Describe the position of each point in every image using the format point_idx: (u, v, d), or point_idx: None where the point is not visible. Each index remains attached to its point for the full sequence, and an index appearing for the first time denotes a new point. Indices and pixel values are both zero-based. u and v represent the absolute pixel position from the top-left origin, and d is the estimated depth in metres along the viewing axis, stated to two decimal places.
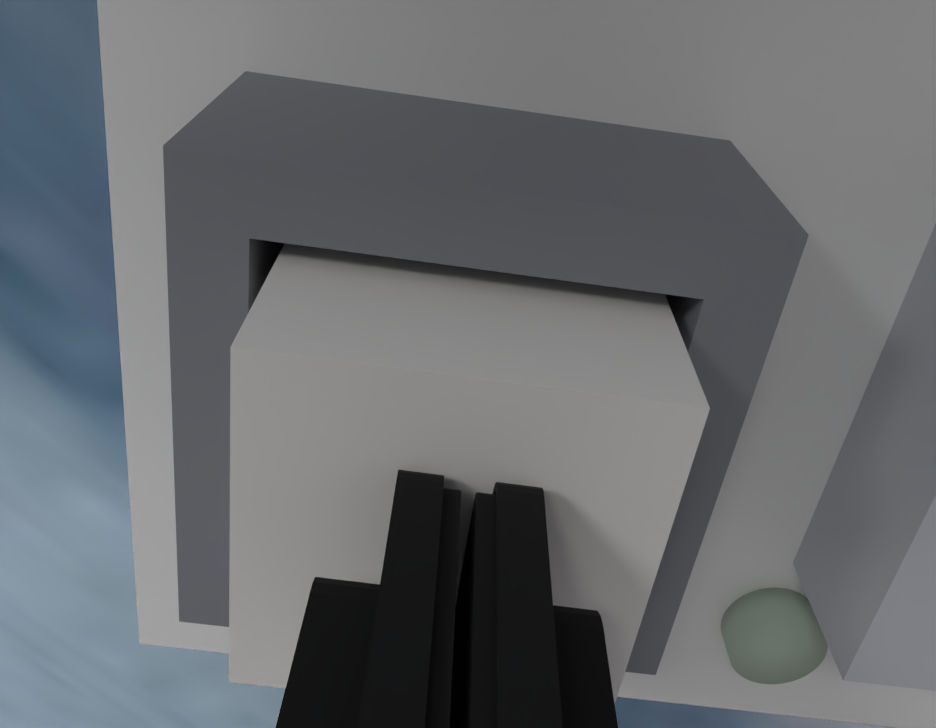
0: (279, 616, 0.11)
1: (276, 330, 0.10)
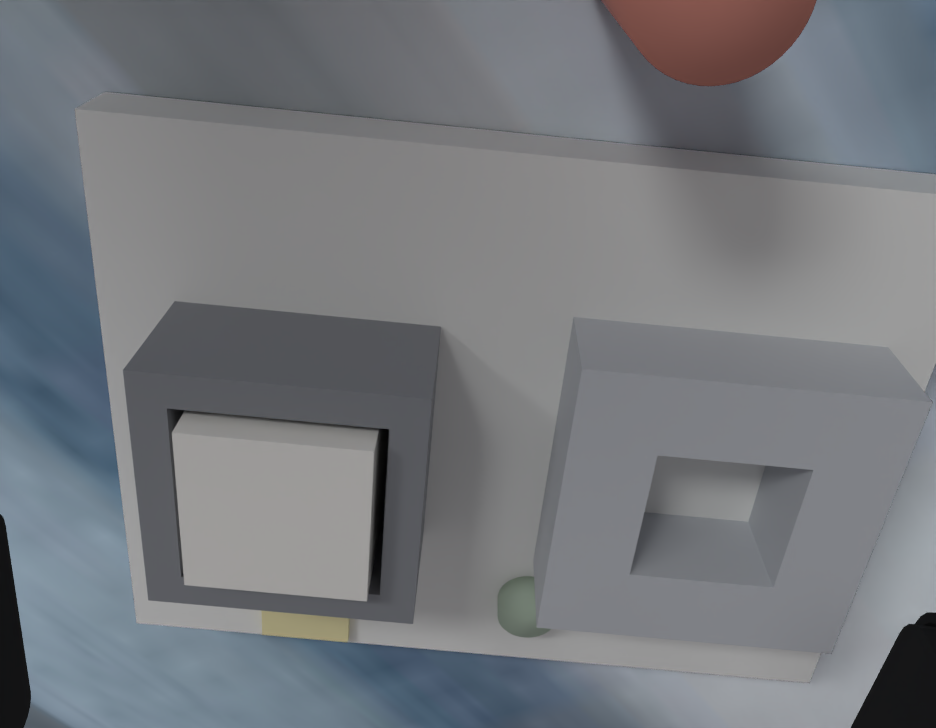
0: (204, 551, 0.24)
1: (192, 423, 0.22)
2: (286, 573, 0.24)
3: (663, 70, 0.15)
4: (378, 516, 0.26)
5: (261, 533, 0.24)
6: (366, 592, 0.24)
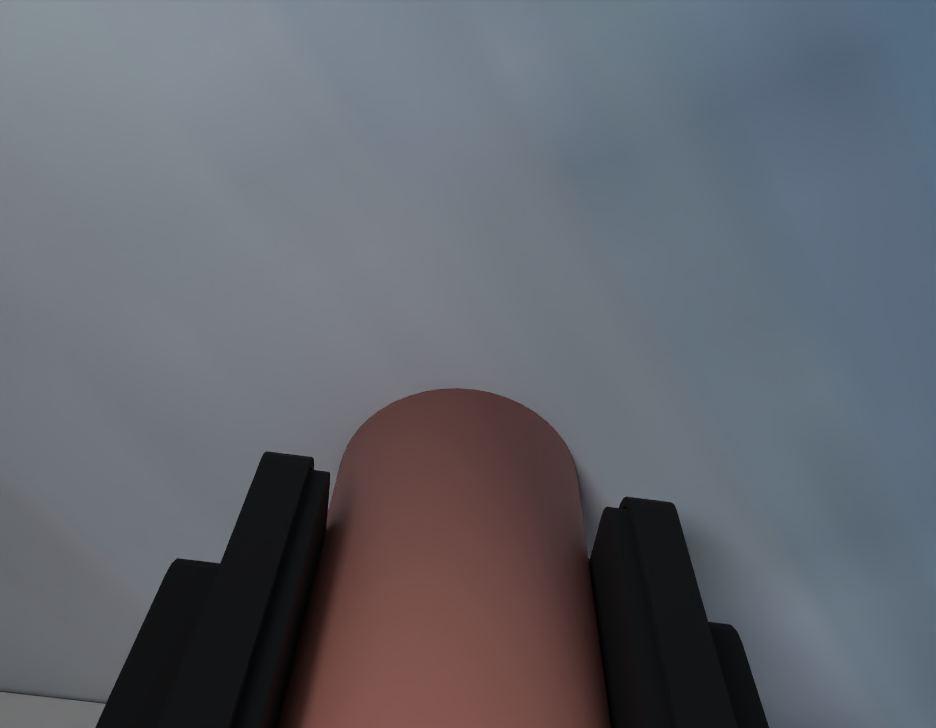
0: None
1: None
2: None
3: None
4: None
5: None
6: None
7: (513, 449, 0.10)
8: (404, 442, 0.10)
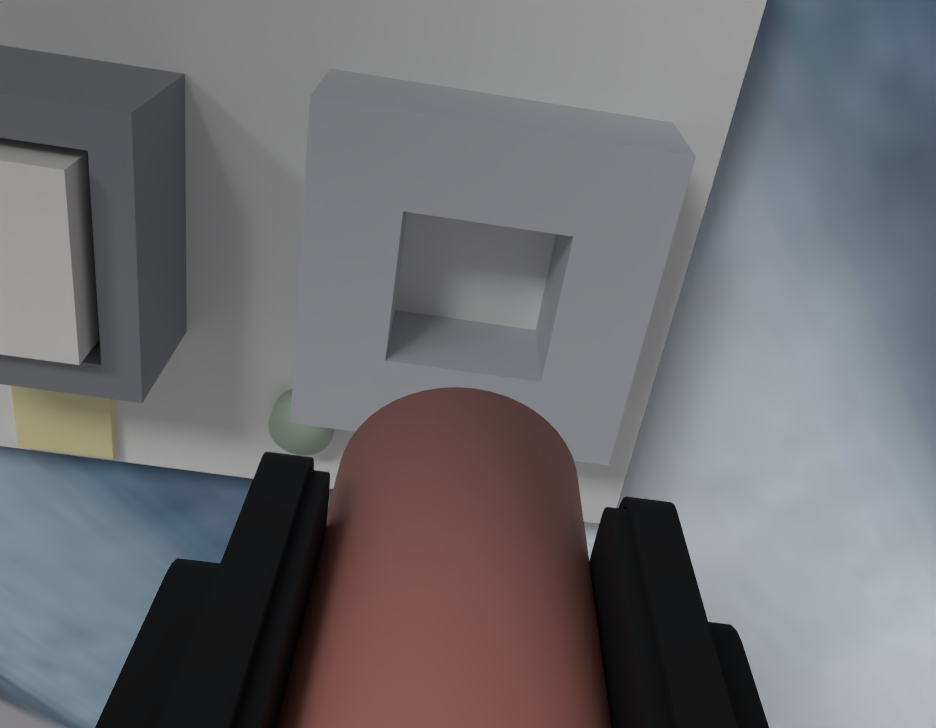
0: None
1: None
2: None
3: None
4: None
5: None
6: (77, 353, 0.22)
7: (514, 446, 0.10)
8: (405, 441, 0.10)
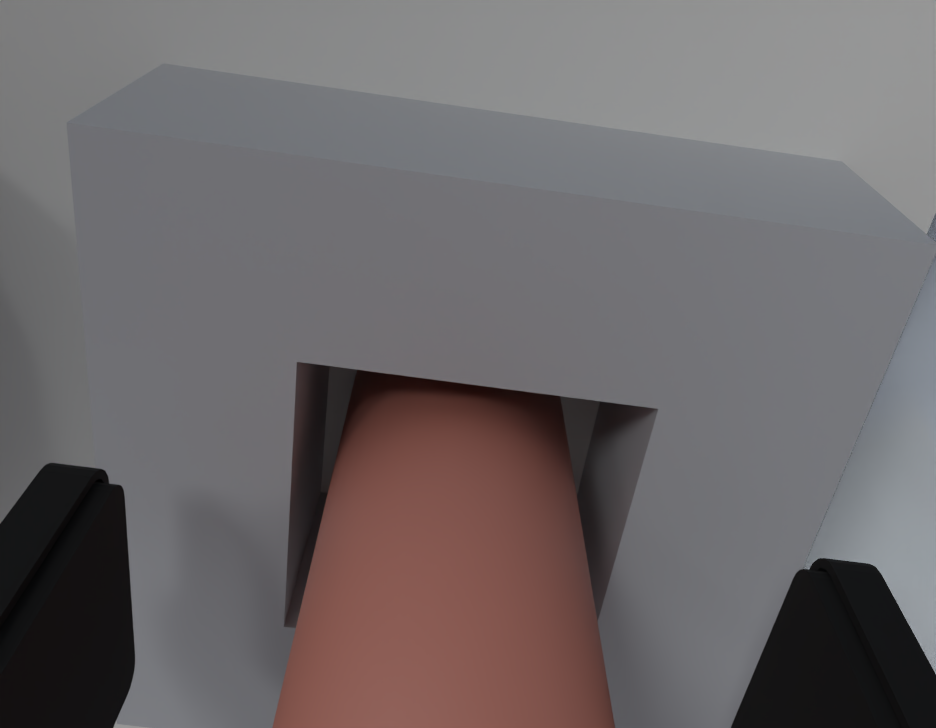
0: None
1: None
2: None
3: None
4: None
5: None
6: None
7: None
8: None
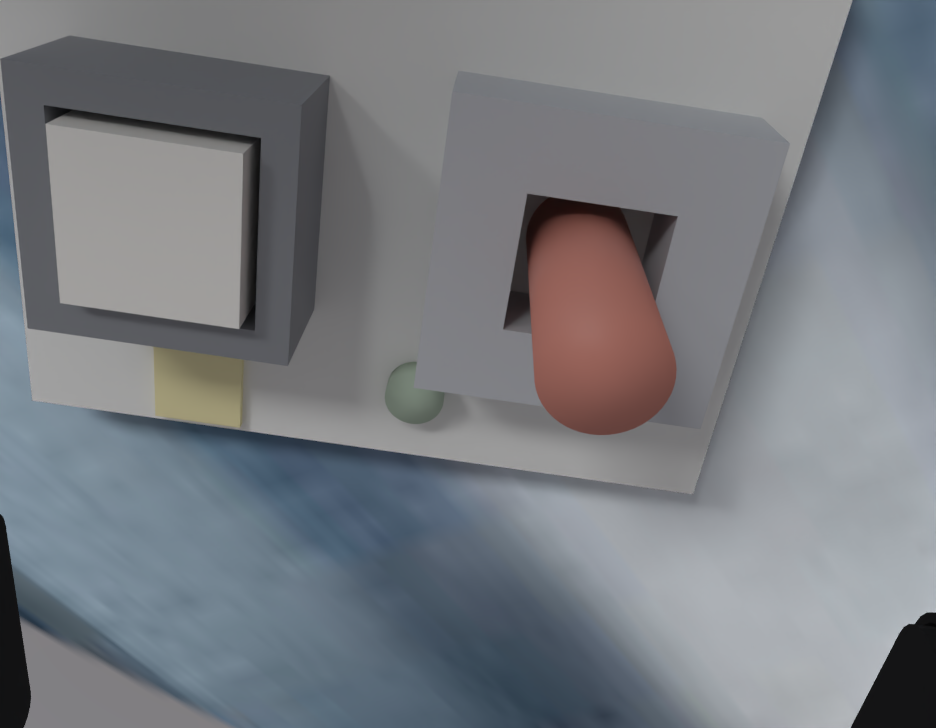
0: (79, 263, 0.24)
1: (68, 121, 0.23)
2: (159, 293, 0.25)
3: (564, 423, 0.21)
4: None
5: (134, 245, 0.24)
6: (238, 318, 0.25)
7: None
8: (563, 201, 0.27)
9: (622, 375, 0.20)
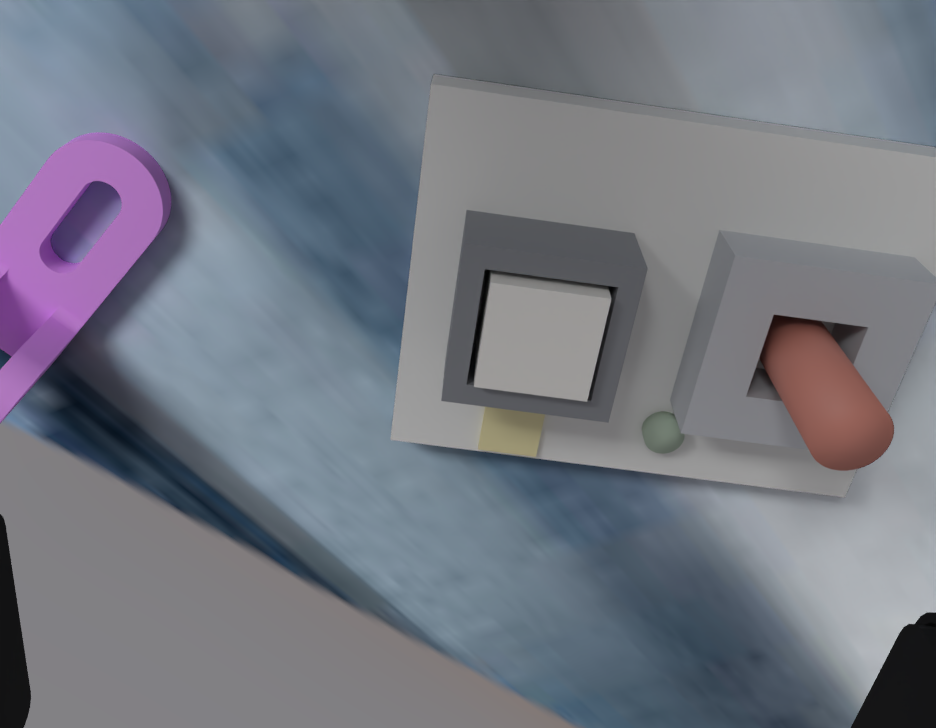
0: (492, 363, 0.38)
1: (499, 279, 0.37)
2: (539, 380, 0.39)
3: (821, 463, 0.35)
4: None
5: (530, 352, 0.38)
6: (587, 395, 0.39)
7: None
8: None
9: (861, 436, 0.34)
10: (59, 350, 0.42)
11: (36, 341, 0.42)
